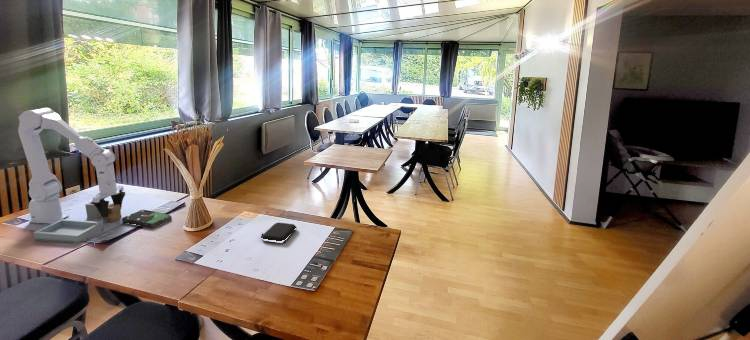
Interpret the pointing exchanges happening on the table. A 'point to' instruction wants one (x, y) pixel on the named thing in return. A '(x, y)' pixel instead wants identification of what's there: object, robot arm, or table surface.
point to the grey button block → (92, 211)
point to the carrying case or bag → (279, 231)
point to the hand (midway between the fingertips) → (111, 213)
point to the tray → (68, 231)
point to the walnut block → (113, 213)
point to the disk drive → (147, 218)
